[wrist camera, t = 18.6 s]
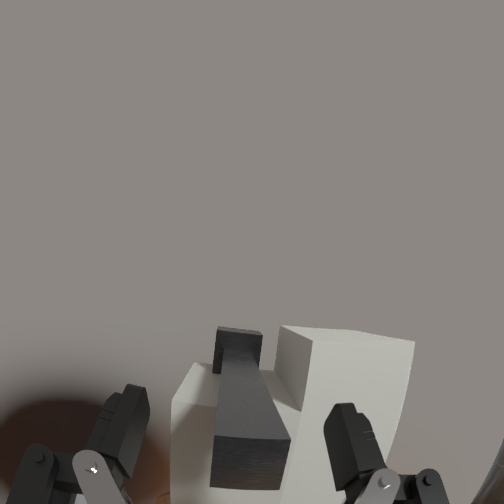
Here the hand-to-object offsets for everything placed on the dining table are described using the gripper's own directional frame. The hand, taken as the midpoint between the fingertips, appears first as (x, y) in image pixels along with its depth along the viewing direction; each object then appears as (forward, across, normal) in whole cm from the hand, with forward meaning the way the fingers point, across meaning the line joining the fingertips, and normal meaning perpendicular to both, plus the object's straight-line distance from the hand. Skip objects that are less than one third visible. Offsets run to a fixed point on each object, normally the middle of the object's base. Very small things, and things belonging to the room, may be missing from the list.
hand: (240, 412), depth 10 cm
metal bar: (+8, 0, -9) cm, 11 cm away
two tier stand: (-2, +5, -35) cm, 36 cm away
